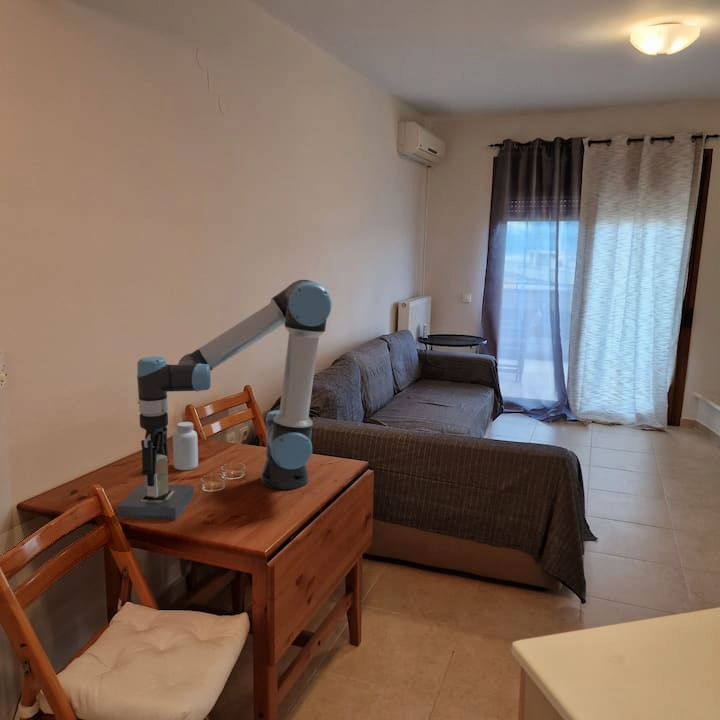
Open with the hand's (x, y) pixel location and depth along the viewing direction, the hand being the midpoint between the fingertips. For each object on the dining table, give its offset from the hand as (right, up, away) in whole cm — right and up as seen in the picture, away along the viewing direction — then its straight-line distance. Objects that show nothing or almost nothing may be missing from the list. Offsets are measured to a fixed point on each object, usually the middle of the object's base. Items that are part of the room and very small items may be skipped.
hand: (157, 490), depth 177 cm
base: (0, -5, +1) cm, 5 cm away
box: (0, -1, 0) cm, 1 cm away
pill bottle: (-1, +1, +32) cm, 32 cm away
